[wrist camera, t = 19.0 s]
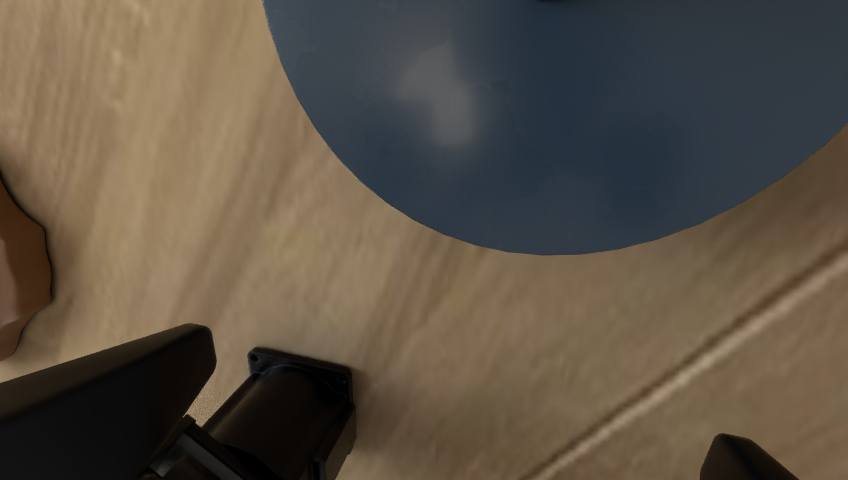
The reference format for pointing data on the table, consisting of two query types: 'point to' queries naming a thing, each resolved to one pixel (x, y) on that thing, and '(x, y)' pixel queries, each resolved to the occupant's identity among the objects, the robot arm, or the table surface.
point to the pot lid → (567, 108)
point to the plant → (20, 272)
